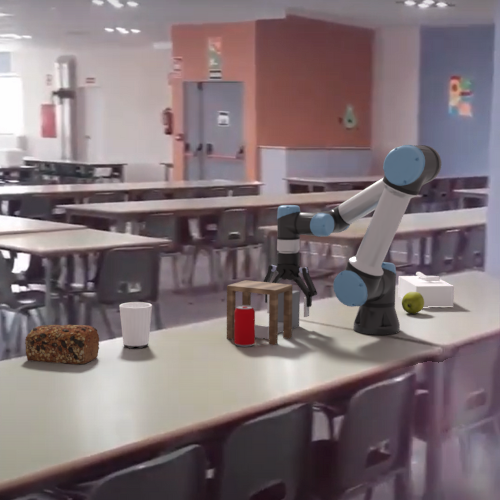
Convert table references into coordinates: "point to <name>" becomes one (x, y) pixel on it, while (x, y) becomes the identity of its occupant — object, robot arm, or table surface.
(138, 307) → the cup
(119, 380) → the table surface
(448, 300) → the tissue box
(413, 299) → the apple
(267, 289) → the small wooden table
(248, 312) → the beverage can
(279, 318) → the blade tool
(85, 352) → the bread
